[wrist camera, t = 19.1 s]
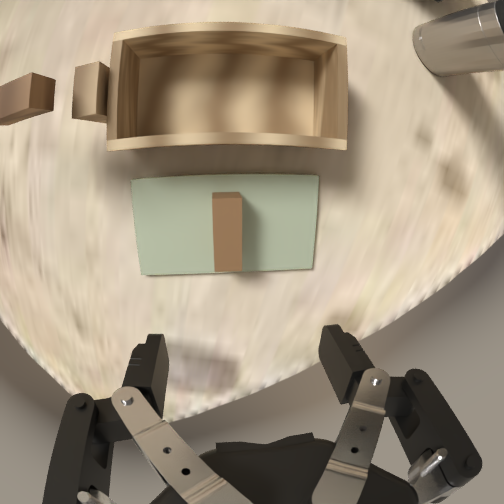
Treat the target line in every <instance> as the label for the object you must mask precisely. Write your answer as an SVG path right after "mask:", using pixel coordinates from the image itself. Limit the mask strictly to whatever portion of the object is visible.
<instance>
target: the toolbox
mask: <svg viewBox="0 0 504 504" xmlns="http://www.w3.org/2000/svg"><path fill="white" fill-rule="evenodd" d="M72 118H73V119H80V120H87V121H94V122H100V123H107V151H118V150H132V149H142V148H154V147H168V146H187V145H275V146H294V147H309V148H323V149H337V150H347V125H348V66H347V42H346V37H341V36H337V35H333V34H328V33H323V32H318V31H313V30H307V29H301V28H295V27H287V26H279V25H270V24H258V23H241V22H198V23H181V24H169V25H160V26H152V27H145V28H138V29H132V30H127V31H121V32H116V33H114V37H113V44H112V52H111V61H110V68H109V67H107V66H106V65H104V64H103V63H101V62H100V61H98V62H94V63H90V64H86V65H82V66H78V67H75V76H74V87H73V102H72Z"/></svg>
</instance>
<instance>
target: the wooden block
mask: <svg viewBox="0 0 504 504" xmlns="http://www.w3.org/2000/svg"><path fill="white" fill-rule="evenodd" d="M55 82H56V80H55V79H52V78H49V77H45V76H42V75H39V74H36V73H29V74H27V75H25V76H22V77H20V78H18V79H15V80H13V81H11V82H9V83H7V84H4V85H2V86H0V125H11V124H13V123H16V122H19V121H22V120H25V119H28V118H31V117H34V116H37V115H41V114H44V113H47V112H51V111H53V109H54V93H55Z"/></svg>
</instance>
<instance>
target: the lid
mask: <svg viewBox="0 0 504 504" xmlns="http://www.w3.org/2000/svg"><path fill="white" fill-rule="evenodd" d="M318 187H319V176H318V175H305V174H203V175H181V176H164V177H150V178H138V179H132V180H131V192H132V204H133V215H134V225H135V233H136V242H137V249H138V257H139V263H140V270H141V275H169V274H200V273H226V272H250V271H272V270H292V269H310V268H312V263H313V253H314V242H315V230H316V217H317V203H318Z"/></svg>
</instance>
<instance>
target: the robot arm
mask: <svg viewBox="0 0 504 504" xmlns="http://www.w3.org/2000/svg"><path fill="white" fill-rule="evenodd" d="M413 43H414V47H415V50H416V52H417V54H418V56H419V58H420V59H421V61H422V62H423V64H424V65H425V66H426V67H427V68H428V69H429V70H430V71H431V72H433V73H434V74H436V75H438V76H443V77H444V76H451V75H461V74H469V73H480V72H492V71H504V0H498V1H494V2H489V3H485V4H482V5H478V6H474V7H471V8H468V9H464V10H461V11H458V12H455V13H452V14H449V15H446V16H443V17H440V18H438V19H435V20H432V21H430V22H427V23H424V24H422V25H419V26H417V27H416V28H415V30H414V32H413ZM319 358H320V361H321V363H322V365H323V367H324V369H325V371H326V374H327V375H328V378H329V380H330V382H331V384H332V386H333V389H334V391H335V393H336V395H337V397H338V400H339V402H340V404H345V403H349V405H350V408H349V411H348V413H347V415H346V418H345V420H344V423H343V425H342V428H341V430H340V432H339V435H338V437H337V439H336V441H335V443H334V442H331V441H328V440H324V439H318V438H314V436H313V433H312V432H311V433H306V434H300V435H294V436H289V437H286V438H283V439H281V440H278V441H276V442H272V443H269V444H255V443H247V442H224V443H216V449H214V450H211V451H207V452H205V453H203V454H201V455H199V456H197V454H195V452H194V451H193V450H192V449H191V448H190V447H189V446H188V445H187V444H186V443H185V442H184V441H183V440H182V439H181V437H180V436H179V435H178V434H177V433H176V432H175V431H174V429H173V428H172V427H171V426H170V425H169V424H168V423H167V422H166V421H165V420H162V418H163V410H164V401H165V393H166V386H167V378H168V371H169V358H168V353H167V348H166V343H165V338H164V335H163V334H148V336H147V340H146V343H145V344H138V345H137V346H136V347H135V348H134V349H133V351H132V354H131V359H130V361H129V365H128V367H127V371H126V374H125V377H124V381H123V384H122V387H121V388H119V389H117V390H116V391H115V392H114V393H113V395H112V397H110V398H106V399H100V400H93V398H92V397H91V396H90V395H88V394H85V393H79V394H75V395H73V396H72V397H71V398H70V399H69V400H68V402H67V404H66V408H65V411H64V414H63V417H62V420H61V424H60V427H59V430H58V434H57V438H56V441H55V445H54V449H53V453H52V457H51V461H50V466H49V470H48V475H47V481H46V486H45V491H44V497H43V503H42V504H116V503H115V502H114V501H113V500H111V499H110V498H109V486H110V475H111V465H112V456H113V448H114V442H116V441H122V440H128V439H132V440H133V441H134V443H135V444H136V445H137V447H138V449H139V450H140V451H141V453H142V454H143V455H144V457H145V458H146V460H147V461H148V462H149V464H150V465H151V466H152V468H153V469H154V470H155V472H156V473H157V474H158V476H159V477H160V478H161V479H162V481H163V482H164V483H165V484H166V485H167V487H166V488H165V489H164V490H163V491H162V492H161V493H160V494H159V495H158V496H157V497H156V498H155V499H154V500H153V501H152V502H151V503H150V504H428V503H439V502H441V501H443V500H444V499H446V498H447V497H448V496H450V495H451V494H453V493H454V492H456V491H457V490H458V489H460V488H461V487H462V486H464V485H465V484H466V483H468V482H469V481H470V480H471V479H473V478H474V477H475V476H476V475H477V474H478V473H479V472H480V470H481V468H482V459H481V457H480V455H479V453H478V452H477V450H476V448H475V447H474V445H473V443H472V441H471V440H470V438H469V436H468V435H467V433H466V432H465V430H464V428H463V427H462V425H461V424H460V422H459V420H458V419H457V417H456V416H455V414H454V412H453V411H452V409H451V408H450V406H449V405H448V403H447V402H446V400H445V399H444V397H443V396H442V394H441V393H440V391H439V390H438V388H437V387H436V385H435V384H434V383H433V381H432V380H431V378H430V377H429V375H428V374H427V373H426V372H424V371H423V370H420V369H411V370H409V371H407V373H406V375H405V377H390V376H389V375H388V373H387V372H385V371H384V370H382V369H378V368H375V367H374V366H373V364H372V362H371V361H370V359H369V358H368V356H367V355H366V353H365V351H363V348H362V347H361V345H360V344H359V343H358V341H357V339H356V338H355V337H354V336H352V335H351V334H350V333H348V332H346V333H344V332H343V330H342V329H341V327H340V326H339V325H338V324H335V325H327V326H324V327H323V329H322V334H321V340H320V345H319ZM384 417H389V419H390V421H391V424H392V426H393V427H394V430H395V432H396V434H397V436H398V438H399V440H400V442H401V445H402V447H403V449H404V451H405V453H406V455H407V458H408V460H409V462H410V464H411V467H410V468H409V471H408V478H409V479H408V482H407V481H405V480H403V479H401V478H399V477H397V476H395V475H393V474H391V473H389V472H387V471H385V470H383V469H381V468H379V467H377V466H375V465H374V464H372V463H371V460H372V457H373V454H374V451H375V448H376V445H377V441H378V438H379V434H380V431H381V428H382V424H383V420H384Z"/></svg>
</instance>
